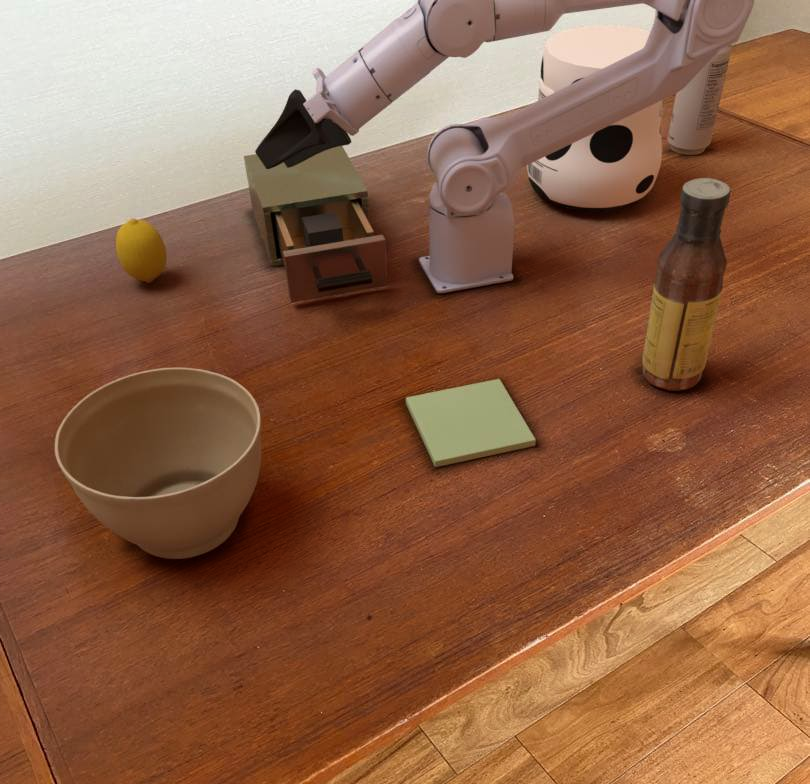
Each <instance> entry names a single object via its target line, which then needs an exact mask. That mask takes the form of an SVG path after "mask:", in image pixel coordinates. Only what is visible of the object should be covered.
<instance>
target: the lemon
mask: <svg viewBox="0 0 810 784" xmlns="http://www.w3.org/2000/svg"><path fill="white" fill-rule="evenodd" d="M165 245H166V244H165V242H164V240H163V238H162V236H161V234H160V233H159V231H158V230H157V229H156V227H155V226H154V225H152V224H151V223H149V222H147V221H145V220H142V219H137V218H135V217H133V218H132V217H131V218H130V219H129V220H127V222H125V223H124V224H122V225H121V226H120V228H119V229H118V231H117V234H116V237H115V251H116V256H117V258H118V261H119V263H120V266H121V267H122V269H123V271H125V273H126V274H127V275H129V276H130V277H131V278H133V279H135V280H137V281H141V282H142V281H143V282H146V283H147V284H150V283H152V282H154V280H155V279H157V278H158V277H159V276H160V275H162V273H163V272H164V270H165V268H166V265H167V250H166V246H165Z"/></svg>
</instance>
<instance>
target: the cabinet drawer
mask: <svg viewBox="0 0 810 784" xmlns="http://www.w3.org/2000/svg"><path fill="white" fill-rule="evenodd" d="M333 212H335V214H336V216H337V218H338V220H339V222H340V224H341V226H342V230H343V241H341V242H336V243H330V244H324V245H318V246H312V247H306V248H305V240H304V231H303V223H302V217H308V216H314V215H321V214H327V213H333ZM272 218H273V224H274V231H275V237H276V243H277V246H278V249H279V252H280V254H281V257H282V260H283V262H284V265H283V266H284V270H285V276H286V277H285V278H286V282H287V283H286V284H287V289H288V290H287V291H288V296H289V300H290V302H291V303H297V302H303V301H308V300H309V301H310V300H314V299H315V300H316V299H320V298H327V297H331V296H337V295H343V294H348V293H354V292H359V291H365V290H370V289H376V288H382V287H386V286H388V268H387V249H386V247H387V246H386V238H385V236H384V235H383V234H378V235H375V232H374V230H373V228H372V226H371V223H370V221H369V222H368V220H367V218H366V216H365V215H364V213H363V211H362V209H361V207H360V205H359V203H358V201H357V200H356V199H352V200H346V201H340V202H334V203H327V204H321V205H315V206H309V207H303V208H296V209H290V210H284V211H278V212H272ZM369 223H370V224H369Z"/></svg>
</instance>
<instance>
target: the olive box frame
mask: <svg viewBox="0 0 810 784" xmlns="http://www.w3.org/2000/svg"><path fill="white" fill-rule="evenodd" d="M243 160H244V166H245V167H244V168H245V172H246V173H245V174H246V180H247V185H248V190H249V196H250V203H251V208H252V214H253V217H254V219H255V222H256V225H257V228H258V231H259V234H260V236H261V239H262V242H263V245H264V247H265V251H266V254H267V256H268V259H269V263H270V265H271V267H278V266H285V265H284V262H283V260H282V257H281V254H280V252H279V249H278V246H277V243H276V237H275V231H274V224H273V218H272V212H278V211H284V210H290V209H296V208H303V207H309V206H315V205H321V204H327V203H334V202H340V201H346V200H352V199H356V200H357V201H358V203H359V205H360V207H361V209H362V211H363V213H364V215H365V216H366V218H367V220H368V222H369V224H370V225H371V223H370V209H369V208H370V207H369V192H368V189H367V187H366V185H365V184H364V182H363V180H362V178H361V177H360V174H359V173H358V171H357V169H356V168H355V165H354V164H353V162H352V160H351V159H350V157H349V155H348V153H347V152H346V150H345V148H344V146H339V147H335V148H331V149H328V150H326V151H323V152H321V153H319V154H316V155H315V156H313V157H311V158H309V159H307V160H305V161H303V162H301V163H299V164H297V165H295V166H292V167H289V168H287V166H286V165H285V163H284V162H283V163H281V164H280V165H278V166H276V167H273V168H270V169H266V168H265V166H264V165H263V163H262V162H261V160H260V159H259V157H258V156H257V154H256V153H255V154H247V155H243Z"/></svg>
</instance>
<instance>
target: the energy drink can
mask: <svg viewBox="0 0 810 784" xmlns="http://www.w3.org/2000/svg"><path fill="white" fill-rule="evenodd" d="M732 49H733V46H732V44H731V45H729V46H727V47H725V48H723V49H721V50H720V51H719V52H718V53H717V54H716V55H715V56H714V57H713V58H712V59H711V60H710V61H709V62H708V63H707V64H706V65H705V66H704V67H703V69H702V70H701V71H700V72H699V73H698V74H697V75H696V76H695V77H694V78H693V79H692V80H691V81H690V82H689V83H688V84H687V86H685V87H684V88H683V89H682V90H680V91H679V92H677V93H676V94H675V96H674V102H673V108H672V113H671V118H670V124H669V130H668V134H667V142H668V144H670V145H669V148H670V149H671V150H672V152H675V153H677V154H680V155H685V156H693V155H699V154H702V153H703V152H705V150H706V148H707V147H709V146H710V145H711V142H712V137H713V133H714V129H715V124H716V120H717V115H718V112H719V106H720V102H721V99H722V98H721V97H722V94H723V89H724V85H725V80H726V76H727V72H728V67H729V63H730V58H731V55H732Z"/></svg>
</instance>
